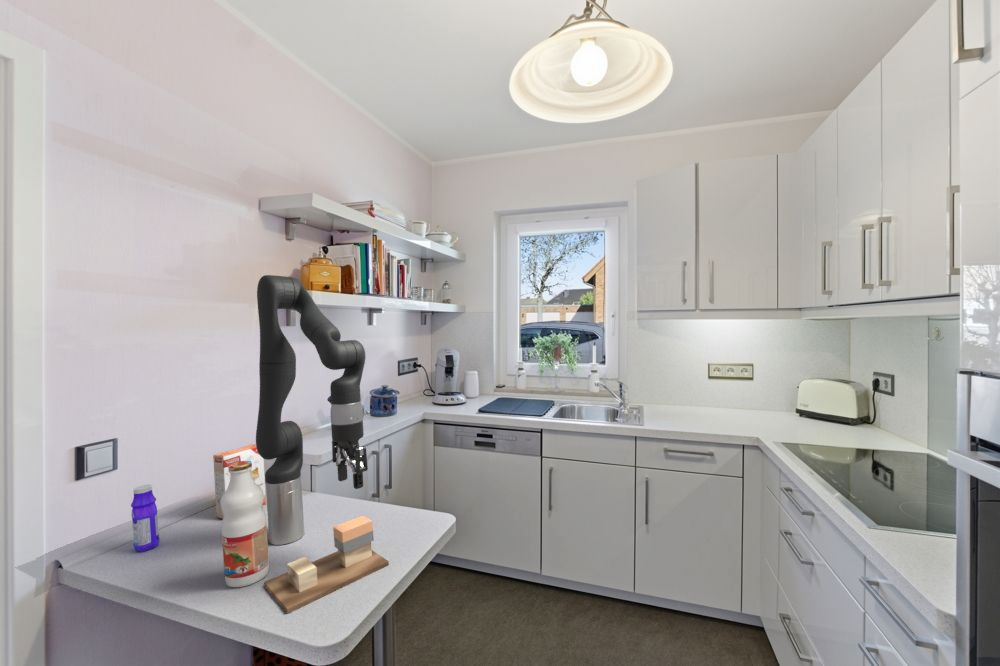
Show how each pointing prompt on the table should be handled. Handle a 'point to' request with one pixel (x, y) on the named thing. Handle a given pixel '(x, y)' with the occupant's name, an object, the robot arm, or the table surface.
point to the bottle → (144, 519)
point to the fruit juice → (243, 528)
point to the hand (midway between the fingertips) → (350, 483)
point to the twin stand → (322, 576)
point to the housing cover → (352, 529)
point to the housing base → (353, 542)
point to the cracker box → (223, 473)
